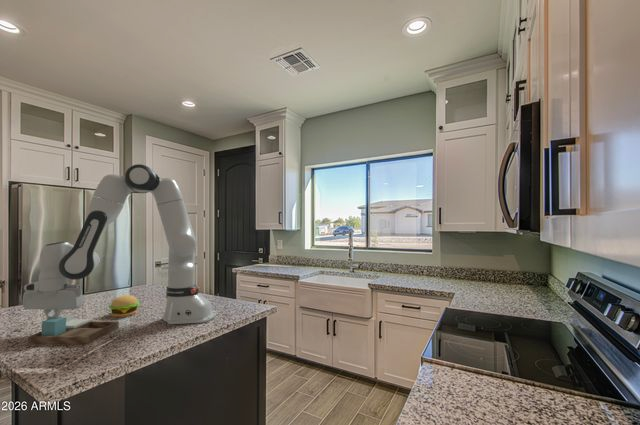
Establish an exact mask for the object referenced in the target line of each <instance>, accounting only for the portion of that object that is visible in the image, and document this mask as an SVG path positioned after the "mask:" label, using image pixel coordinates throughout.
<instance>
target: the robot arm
mask: <svg viewBox="0 0 640 425" xmlns="http://www.w3.org/2000/svg"><path fill="white" fill-rule="evenodd" d="M147 193H151V194H152V195H153V197H154V200H155V203H156V208H157V210H158V213H159V217H160V220H161V224H162V227H163V231H164V233H165V235H164V236H165V237H166V241H167V244H168V265H167V267H168V270H167V271H168V272H167V286H166V292H165V293H166V294H165V297H166V303H165V310H164V313H163V316H162V321H164V322H166V323H167V325H179V324H180V325H183V324H184V325H186V324H199V323H200V324H201V323H206V322H207V323H208V322H210V321H212V320H213V319H215V318H216V317H217V311H216V310H212V309H213V307H212V303H211V301H210V300H209V299H208V298H206V297H204V296H203V295H202V294H201V293H199V290H200V289H201V286H199V285H198V286H197V285H196V283H195V279H196V278H195V277H196V259H195V258H196V257H195V256H196V255H195V252H196V249H197V246H198V245H197V238H196V235H195V233H194V229H193V226H192V223H191V220H190V216H189V214H188V210H187V207H186V204H185V201H184V197H183V195H182V194H183V193H182V191H181V189H180V187H179V185H178V183H177V181H176V180H175V179H173V178H171V177H162V178H161V177H160V176H159V175H158V173H156V172H155V171H154V170H153V169H152V168H151V167H149V166H147V165H145V164H139V163H138V164H133V165H131V166H130V167H128V168H127V169H126V171H125V174H124V175H119V174H107V175H105V176H103V177H102V179H101V180H100V181H99V183H98V184H97V187H96V188H95V190H94V192H93V195H92V196H91V199H90V202H89V204H88V205H89V206H88V210H87V214H86V216H85V219H84V223H83V226H82V228H81V229H80V232H79V234H78V236H77V237H76V238H77V239H76V240H75V243H74V244H72V243H70V242H69V241H59V242H53V243H48V244H46V245H44V246H43V247H42V248H41V251H40V253H39V254H40V255H39V262H38V264H39V265H38V268H39V270H40V272H39V275H38V280H36V281H34V282H31V283H30V282H29V283H28V284H27V283H26V284H25V285H24V286H23V290H24V293H23V296H22V308H23V309H24V310H43V313H44V315H45V316H46V320H48V319H51V318H53V317H59V316H60V315H61V313H62V312H63V311H64V310H69V311H70V310H77V309H80V308H82V307H83V304H84V300H83V298H84V297H83V292H82V291H83V290H82V287H81V286H80V285H79V284H71V283H70V280H82V279H83V278H87V277H88V276H89V275H90V274H91V273H92V272H93V271H94V270H97V268H98V267H99V265H100V264H101V256H100V255H99V253H97V252H96V251H95V250H96V248H97V245H98V242H99V240H100V238H101V237H102V233H103V232H104V231H105V229H106V228H107V227H109V225H111V224H112V223H113V222H114V221H116V220H117V219H118V217H119V215H120V214H121V212H122V210H123V208H124V206H125V203H126V200H127V198H128V196H129V195H130V194H147ZM52 311H53V312H52ZM53 313H54V314H53Z"/></svg>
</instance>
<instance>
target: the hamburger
mask: <svg viewBox="0 0 640 425" xmlns="http://www.w3.org/2000/svg"><path fill="white" fill-rule="evenodd" d="M140 303H141V302H139V301H138V299H137V298H136V296H133V295H129V294H125V295H124V294H123V295H120V296H117V297H115V298H114V299H113V300H112V301H111V304H110V305H108V309H109V313H110V315H111V316H112V317H113V318H127V317H131V316H134V315H135V314H136V313H137V312H138V309H139V308H140V307H139V305H140Z"/></svg>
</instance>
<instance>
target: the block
mask: <svg viewBox="0 0 640 425" xmlns="http://www.w3.org/2000/svg"><path fill="white" fill-rule="evenodd" d="M41 331H42V334H41V336H56V335H59V334H61V333H63V332H66V317H64V316H62V317H53V318H51V319H48V320H47V319H46V320H43V321H42V320H41Z"/></svg>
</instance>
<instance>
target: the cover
mask: <svg viewBox="0 0 640 425" xmlns="http://www.w3.org/2000/svg"><path fill="white" fill-rule="evenodd" d="M63 317H66V328H76V327H78V326H80V325H83V324H85V323H87V322H90V321H91V319H88V318H87V319H85V318H82V319H81V318H79V319H78V318H73V314H67V315H65V316H63Z"/></svg>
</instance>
